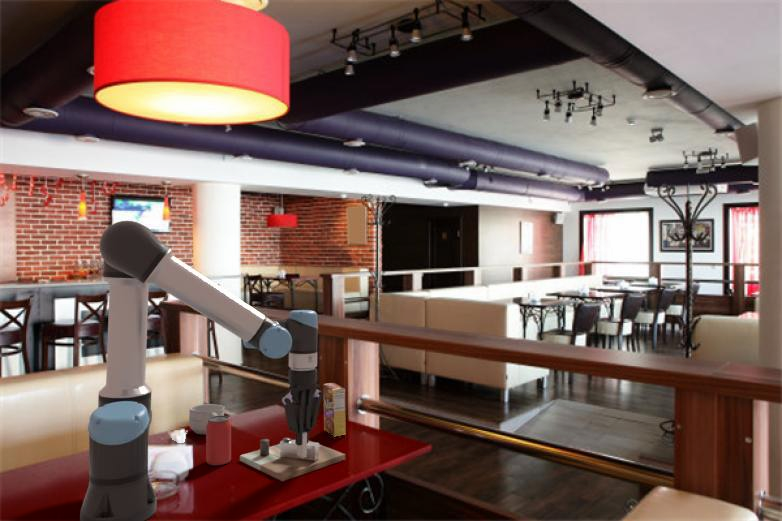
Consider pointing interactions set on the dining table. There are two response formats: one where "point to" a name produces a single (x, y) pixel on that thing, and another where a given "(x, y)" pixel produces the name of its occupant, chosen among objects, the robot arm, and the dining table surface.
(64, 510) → the dining table surface
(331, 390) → the candy box
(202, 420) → the teacup
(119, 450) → the robot arm
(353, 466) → the dining table surface
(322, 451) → the board
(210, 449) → the beer can
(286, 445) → the bar
